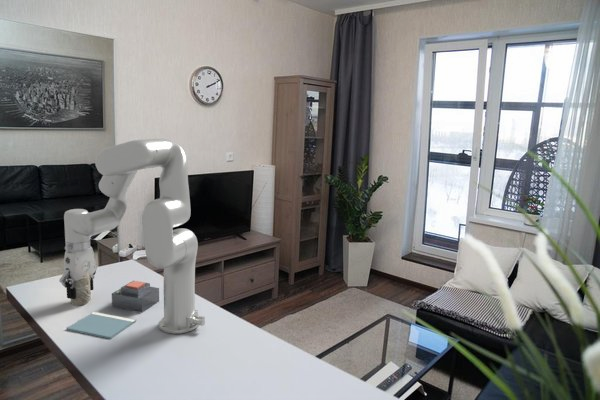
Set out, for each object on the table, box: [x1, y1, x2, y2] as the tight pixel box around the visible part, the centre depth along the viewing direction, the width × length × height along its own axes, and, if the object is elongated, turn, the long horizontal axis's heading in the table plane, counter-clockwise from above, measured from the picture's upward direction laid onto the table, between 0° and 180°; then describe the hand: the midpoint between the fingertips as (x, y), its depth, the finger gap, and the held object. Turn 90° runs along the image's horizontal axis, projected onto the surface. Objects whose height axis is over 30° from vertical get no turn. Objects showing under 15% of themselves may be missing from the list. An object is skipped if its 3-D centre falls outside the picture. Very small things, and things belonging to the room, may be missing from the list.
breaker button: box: [125, 280, 146, 289], centre depth 151 cm, size 5×5×2 cm
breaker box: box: [111, 280, 160, 314], centre depth 151 cm, size 12×10×7 cm
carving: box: [70, 273, 92, 307], centre depth 150 cm, size 6×8×12 cm
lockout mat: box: [66, 311, 137, 340], centre depth 136 cm, size 16×12×1 cm
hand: (80, 293), depth 150 cm, fingers closed on carving, 7 cm apart
